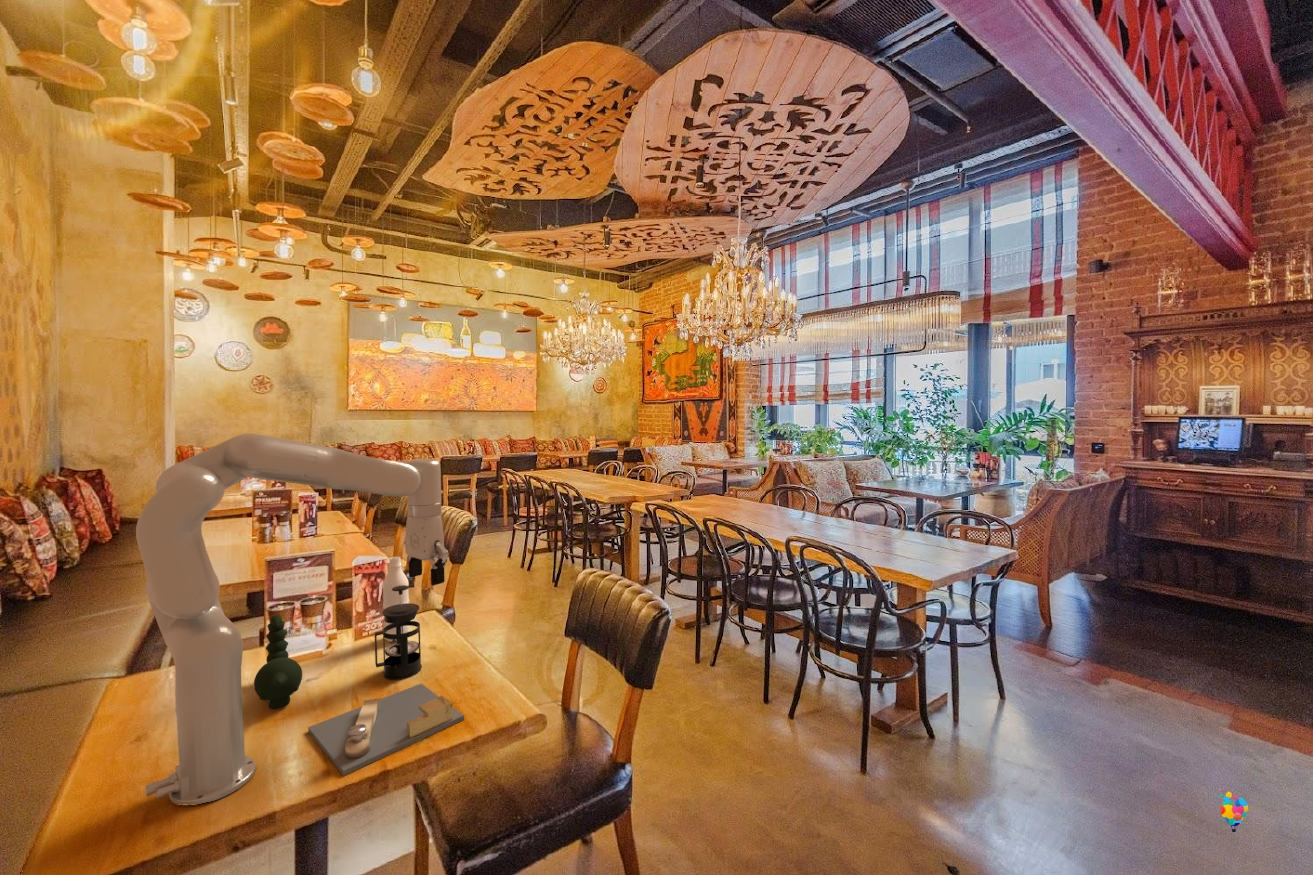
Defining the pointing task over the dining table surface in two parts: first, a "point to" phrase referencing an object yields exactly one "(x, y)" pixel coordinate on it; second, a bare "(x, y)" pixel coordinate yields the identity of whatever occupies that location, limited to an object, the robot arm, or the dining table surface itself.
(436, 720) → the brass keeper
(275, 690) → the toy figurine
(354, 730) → the steel pin
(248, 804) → the dining table surface
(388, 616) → the french press
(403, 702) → the charcoal board
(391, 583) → the water bottle
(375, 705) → the beech link
